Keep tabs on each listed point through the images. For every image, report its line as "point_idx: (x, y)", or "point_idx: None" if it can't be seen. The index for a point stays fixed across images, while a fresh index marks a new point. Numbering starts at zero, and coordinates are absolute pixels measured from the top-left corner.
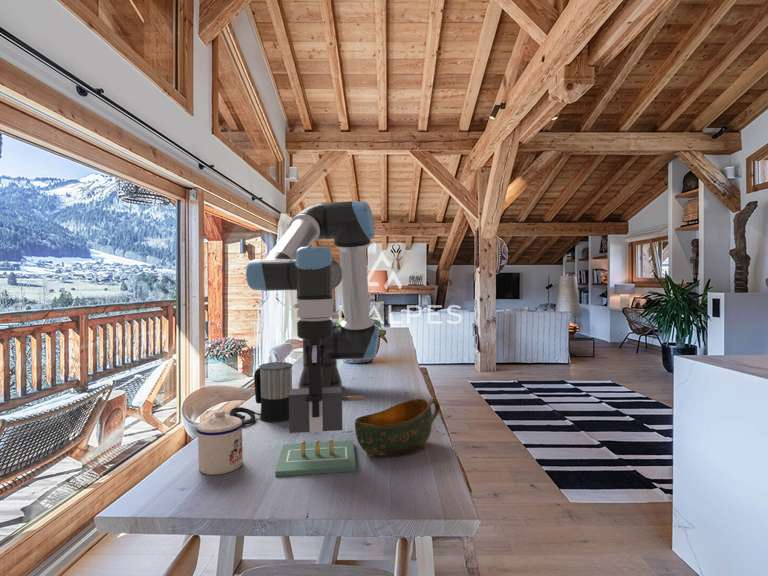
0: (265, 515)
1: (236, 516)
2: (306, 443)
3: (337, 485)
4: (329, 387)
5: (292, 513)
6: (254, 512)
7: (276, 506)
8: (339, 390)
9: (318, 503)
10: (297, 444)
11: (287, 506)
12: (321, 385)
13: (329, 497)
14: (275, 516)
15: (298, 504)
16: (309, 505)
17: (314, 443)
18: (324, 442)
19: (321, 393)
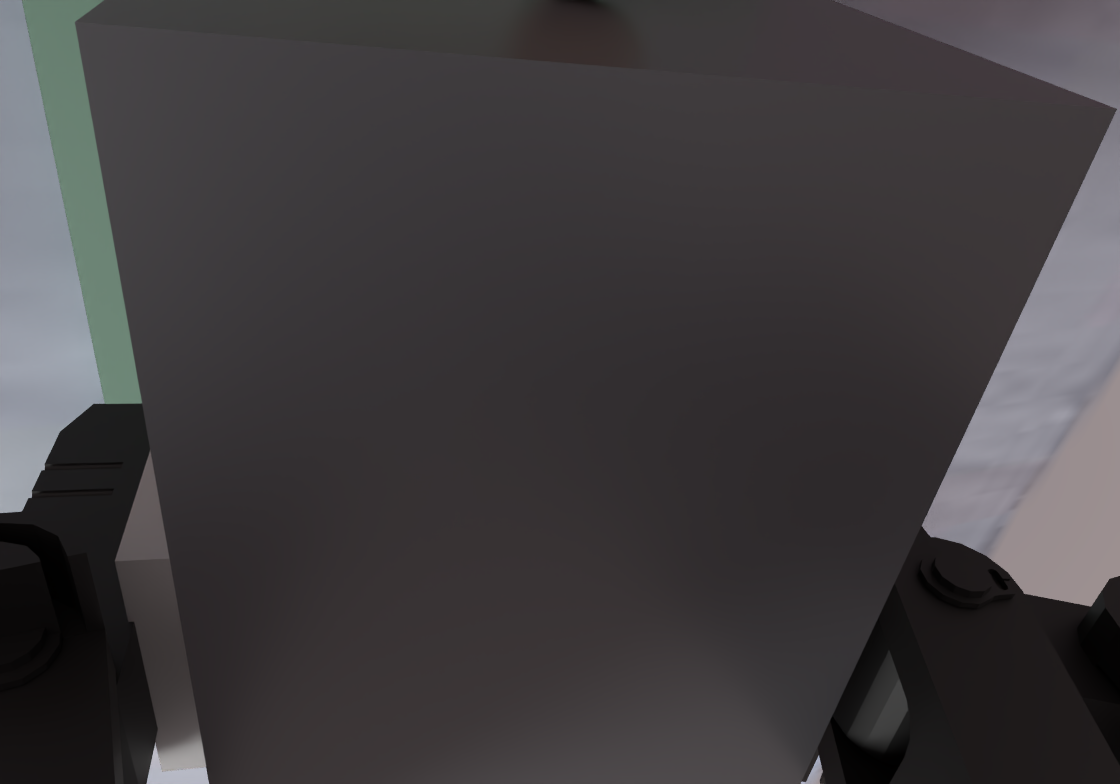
0: (1046, 423)
1: (981, 530)
2: (94, 285)
3: (958, 11)
4: (197, 524)
5: (1109, 305)
6: (992, 471)
7: (997, 387)
8: (775, 181)
9: (1104, 166)
10: (128, 366)
11: (1029, 335)
12: (113, 779)
13: (1081, 89)
14: (1083, 380)
15: (1044, 281)
16: (1091, 219)
17: (95, 203)
18: (60, 86)
19: (854, 649)
